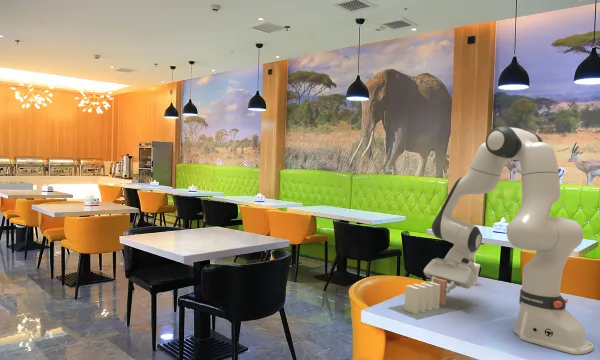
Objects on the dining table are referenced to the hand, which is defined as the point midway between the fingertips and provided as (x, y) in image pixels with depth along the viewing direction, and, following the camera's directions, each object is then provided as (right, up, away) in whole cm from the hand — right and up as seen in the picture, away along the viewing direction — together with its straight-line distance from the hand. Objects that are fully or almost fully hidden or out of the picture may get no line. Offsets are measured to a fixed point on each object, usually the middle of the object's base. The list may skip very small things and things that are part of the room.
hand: (438, 289), depth 171 cm
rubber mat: (-2, -7, -1) cm, 7 cm away
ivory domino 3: (-6, -6, -4) cm, 10 cm away
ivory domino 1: (-13, -6, -9) cm, 17 cm away
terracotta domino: (0, -5, +1) cm, 5 cm away
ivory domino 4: (-3, -6, -2) cm, 7 cm away
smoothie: (+28, -7, +39) cm, 49 cm away
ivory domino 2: (-10, -6, -6) cm, 13 cm away
